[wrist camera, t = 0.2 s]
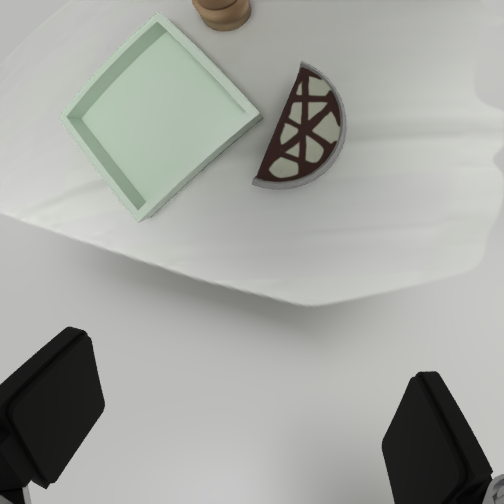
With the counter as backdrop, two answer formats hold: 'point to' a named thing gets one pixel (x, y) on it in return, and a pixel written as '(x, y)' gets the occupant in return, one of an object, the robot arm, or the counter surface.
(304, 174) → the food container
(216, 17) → the salt cellar
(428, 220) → the counter surface
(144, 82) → the bin
